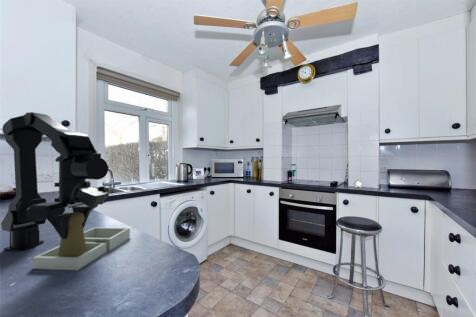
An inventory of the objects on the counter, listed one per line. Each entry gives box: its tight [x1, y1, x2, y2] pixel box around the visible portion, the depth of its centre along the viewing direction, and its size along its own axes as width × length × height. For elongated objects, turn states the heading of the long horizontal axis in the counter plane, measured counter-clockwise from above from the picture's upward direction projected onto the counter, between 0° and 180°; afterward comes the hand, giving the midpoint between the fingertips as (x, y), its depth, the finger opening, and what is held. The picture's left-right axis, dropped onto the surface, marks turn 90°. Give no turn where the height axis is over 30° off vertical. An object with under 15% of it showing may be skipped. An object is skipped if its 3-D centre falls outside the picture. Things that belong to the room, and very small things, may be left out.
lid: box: [32, 242, 108, 271], centre depth 56 cm, size 12×10×3 cm
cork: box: [58, 211, 87, 257], centre depth 56 cm, size 6×6×11 cm
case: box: [83, 226, 131, 252], centre depth 66 cm, size 13×11×4 cm
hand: (72, 235), depth 56 cm, fingers open, 5 cm apart
